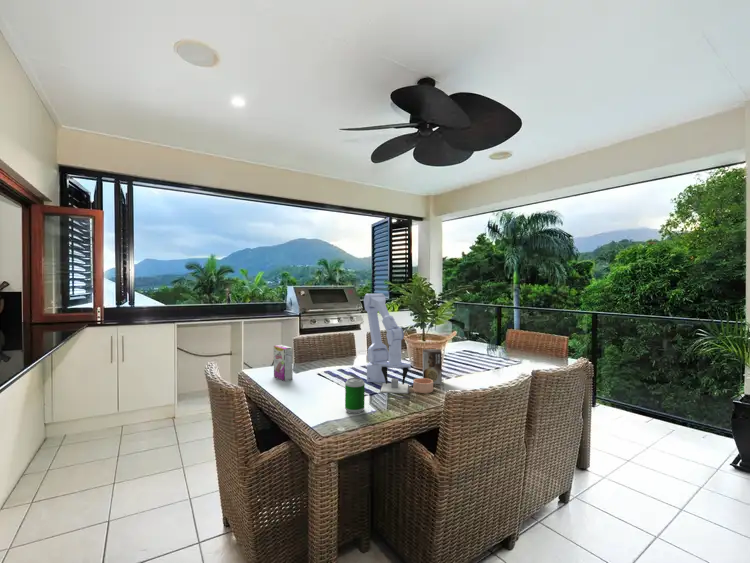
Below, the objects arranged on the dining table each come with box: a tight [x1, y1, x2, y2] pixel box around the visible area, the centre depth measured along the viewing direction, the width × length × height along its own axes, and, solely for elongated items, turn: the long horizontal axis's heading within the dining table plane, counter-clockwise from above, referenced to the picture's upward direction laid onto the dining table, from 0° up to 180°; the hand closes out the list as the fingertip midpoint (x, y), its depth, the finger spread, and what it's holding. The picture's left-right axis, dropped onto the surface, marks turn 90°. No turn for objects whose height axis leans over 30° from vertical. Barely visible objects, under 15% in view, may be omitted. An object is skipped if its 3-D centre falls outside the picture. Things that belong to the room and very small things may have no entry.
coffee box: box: [422, 348, 443, 386], centre depth 173 cm, size 9×6×16 cm
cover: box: [380, 378, 409, 394], centre depth 163 cm, size 12×12×4 cm
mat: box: [378, 383, 410, 394], centre depth 163 cm, size 13×13×1 cm
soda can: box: [344, 377, 366, 414], centre depth 136 cm, size 8×8×12 cm
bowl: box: [412, 377, 434, 394], centre depth 161 cm, size 9×9×4 cm
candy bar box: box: [273, 344, 294, 382], centre depth 180 cm, size 11×5×16 cm, turn 44°
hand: (394, 383), depth 163 cm, fingers open, 7 cm apart
